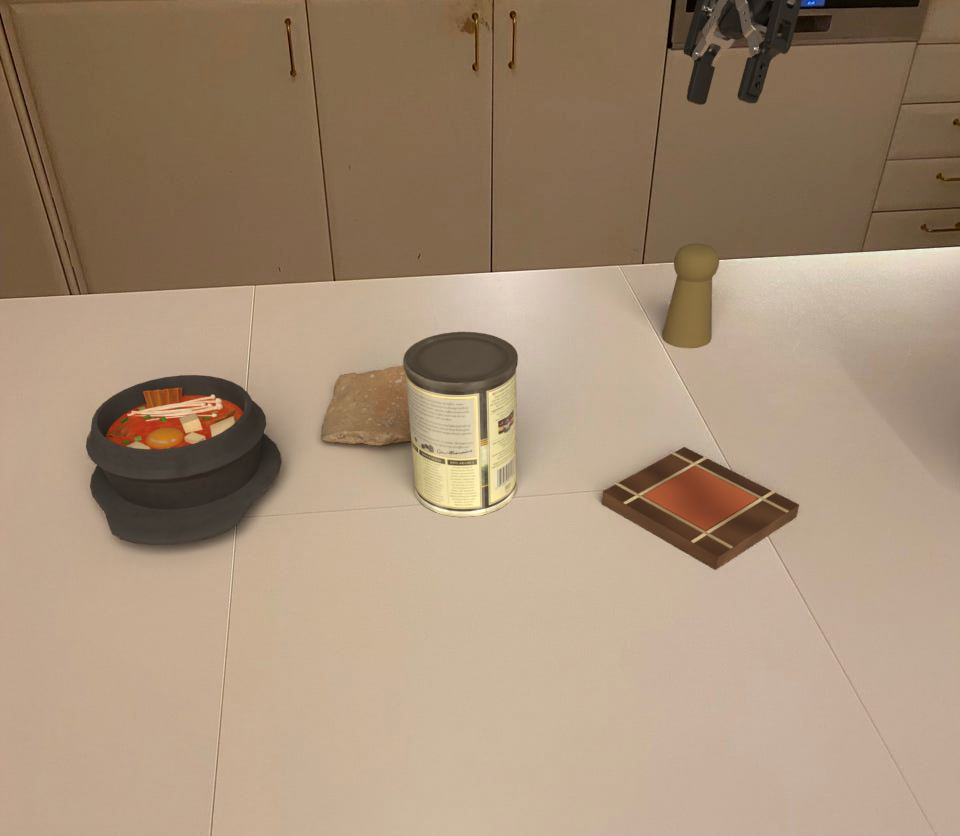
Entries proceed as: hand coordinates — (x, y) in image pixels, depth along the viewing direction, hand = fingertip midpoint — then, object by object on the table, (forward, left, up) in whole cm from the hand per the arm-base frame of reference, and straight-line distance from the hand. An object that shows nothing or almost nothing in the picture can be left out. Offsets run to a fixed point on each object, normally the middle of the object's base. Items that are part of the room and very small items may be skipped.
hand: (720, 102), depth 103 cm
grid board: (+27, +24, -27) cm, 45 cm away
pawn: (-1, -1, -27) cm, 27 cm away
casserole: (+61, -13, -27) cm, 68 cm away
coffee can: (+41, +6, -27) cm, 49 cm away
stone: (+39, -11, -27) cm, 49 cm away
